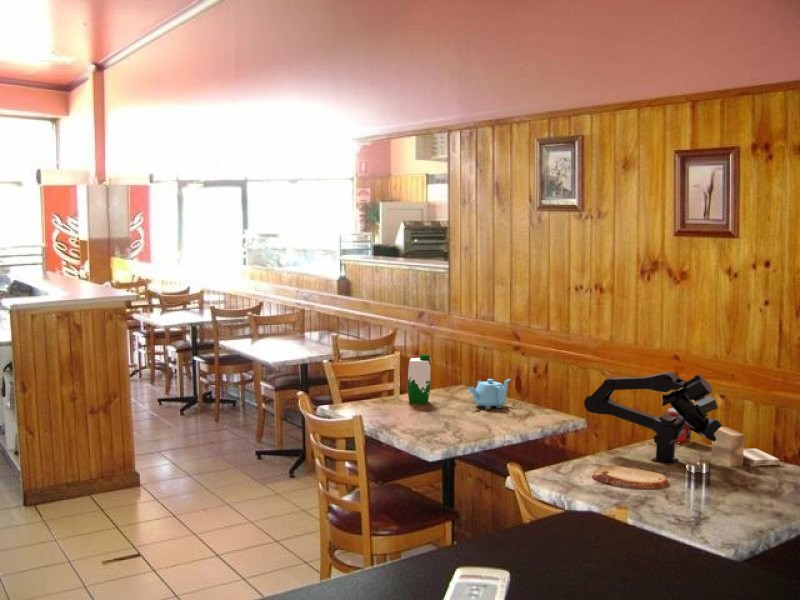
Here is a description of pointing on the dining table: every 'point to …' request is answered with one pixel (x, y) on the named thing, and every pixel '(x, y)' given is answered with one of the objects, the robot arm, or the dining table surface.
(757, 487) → the dining table surface
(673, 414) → the canned food
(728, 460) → the light brown wooden block
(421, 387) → the milk carton
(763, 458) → the board
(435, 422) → the dining table surface
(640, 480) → the bread slice
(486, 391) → the teapot
